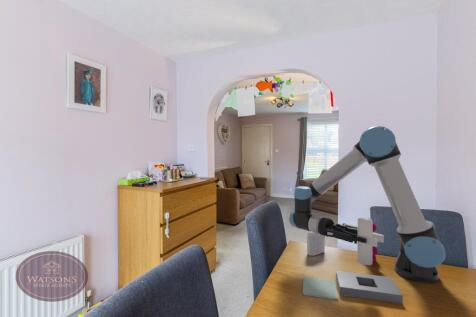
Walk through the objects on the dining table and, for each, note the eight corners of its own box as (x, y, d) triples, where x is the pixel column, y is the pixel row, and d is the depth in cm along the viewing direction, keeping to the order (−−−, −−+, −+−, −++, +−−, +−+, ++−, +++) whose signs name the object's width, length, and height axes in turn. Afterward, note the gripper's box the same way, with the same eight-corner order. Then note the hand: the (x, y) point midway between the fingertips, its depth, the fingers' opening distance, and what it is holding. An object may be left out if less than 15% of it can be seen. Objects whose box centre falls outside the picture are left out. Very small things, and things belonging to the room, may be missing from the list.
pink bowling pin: (360, 261, 114) (361, 219, 114) (359, 255, 121) (360, 215, 120) (378, 264, 112) (379, 221, 111) (376, 257, 118) (376, 217, 118)
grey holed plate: (390, 284, 95) (390, 277, 95) (402, 303, 83) (402, 295, 83) (335, 277, 100) (336, 270, 100) (339, 294, 89) (339, 286, 89)
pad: (334, 281, 97) (334, 280, 97) (338, 300, 86) (338, 298, 86) (303, 277, 100) (303, 276, 100) (302, 294, 89) (302, 293, 89)
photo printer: (319, 249, 128) (319, 226, 128) (325, 252, 125) (326, 228, 124) (305, 254, 123) (305, 230, 122) (312, 257, 119) (312, 232, 119)
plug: (370, 259, 93) (370, 218, 93) (374, 265, 88) (374, 222, 88) (356, 258, 95) (356, 217, 94) (358, 264, 90) (359, 221, 89)
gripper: (332, 229, 111) (389, 244, 93) (309, 239, 99) (369, 258, 82) (332, 213, 111) (389, 225, 93) (309, 221, 99) (369, 236, 81)
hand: (380, 240), depth 87 cm, fingers closed on plug, 5 cm apart
